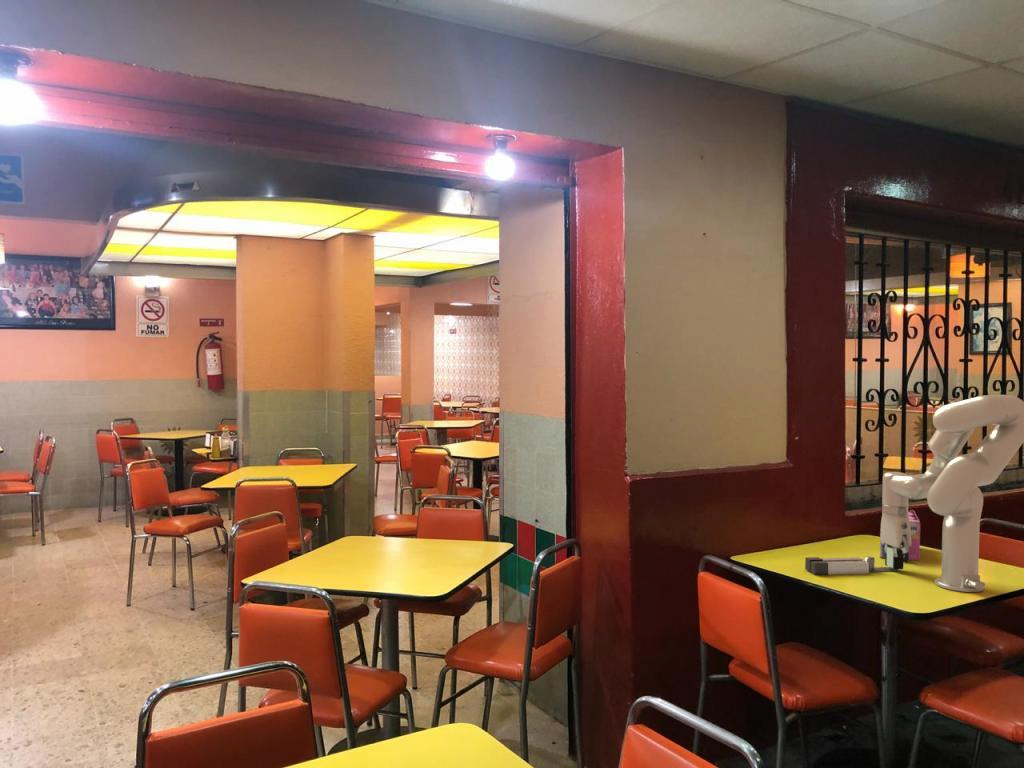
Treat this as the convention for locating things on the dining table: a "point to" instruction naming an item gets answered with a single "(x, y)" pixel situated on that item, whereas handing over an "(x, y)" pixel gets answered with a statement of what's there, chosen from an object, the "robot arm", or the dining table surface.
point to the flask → (882, 553)
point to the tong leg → (827, 560)
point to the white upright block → (890, 556)
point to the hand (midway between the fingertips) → (894, 566)
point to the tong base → (846, 567)
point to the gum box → (914, 536)
